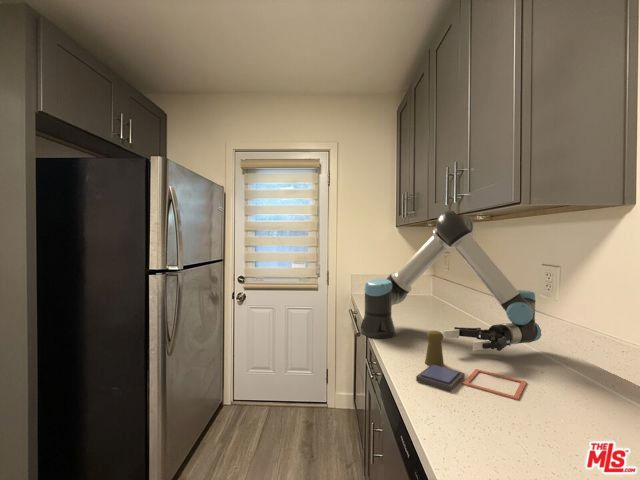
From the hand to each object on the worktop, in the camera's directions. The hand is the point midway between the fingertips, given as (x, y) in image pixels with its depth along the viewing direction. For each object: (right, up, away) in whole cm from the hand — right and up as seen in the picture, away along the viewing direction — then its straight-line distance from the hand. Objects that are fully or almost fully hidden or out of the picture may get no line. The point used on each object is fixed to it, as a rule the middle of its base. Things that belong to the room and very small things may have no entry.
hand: (458, 340), depth 114 cm
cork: (-9, -7, -3) cm, 12 cm away
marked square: (+3, -7, -18) cm, 19 cm away
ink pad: (-12, -7, -16) cm, 21 cm away
